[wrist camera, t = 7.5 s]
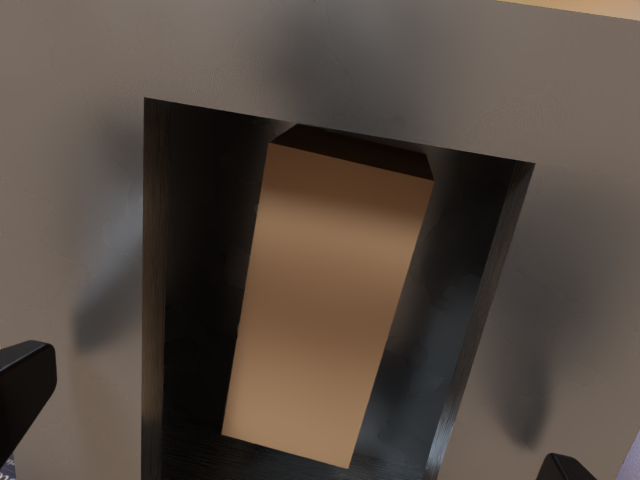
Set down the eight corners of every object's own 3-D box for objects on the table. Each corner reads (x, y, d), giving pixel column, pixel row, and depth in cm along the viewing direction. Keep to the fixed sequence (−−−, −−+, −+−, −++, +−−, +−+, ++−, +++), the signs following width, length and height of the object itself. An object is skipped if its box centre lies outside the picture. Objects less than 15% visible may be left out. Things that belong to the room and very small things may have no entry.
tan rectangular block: (356, 395, 16) (347, 469, 13) (252, 368, 16) (221, 434, 13) (425, 154, 13) (434, 180, 10) (296, 124, 13) (268, 142, 10)
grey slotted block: (471, 482, 17) (508, 692, 11) (142, 407, 18) (26, 566, 12) (621, 52, 12) (830, 47, 6) (145, -18, 13) (-51, -78, 7)
